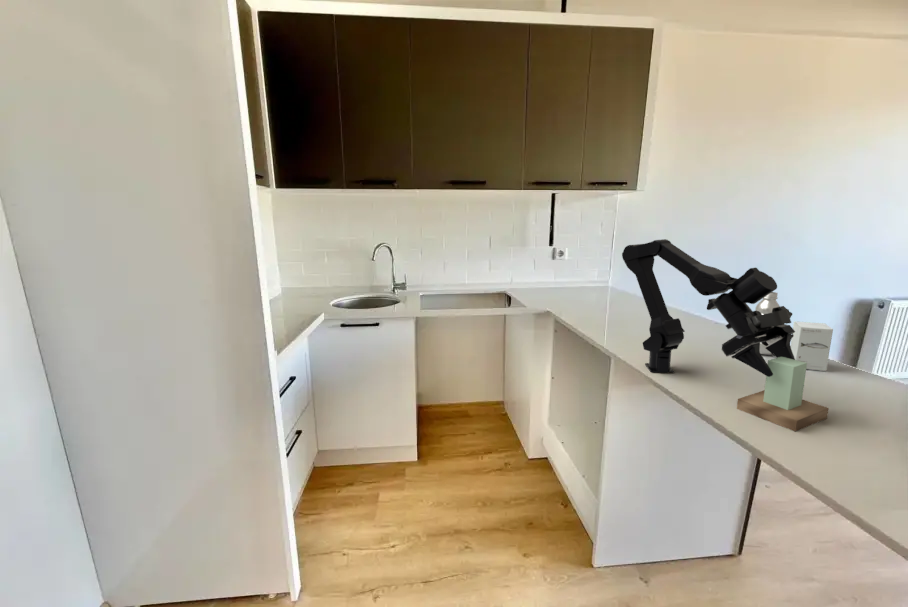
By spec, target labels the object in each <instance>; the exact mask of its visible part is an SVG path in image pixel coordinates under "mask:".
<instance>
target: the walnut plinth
mask: <svg viewBox="0 0 908 607" xmlns="http://www.w3.org/2000/svg"><path fill="white" fill-rule="evenodd" d="M764 391H765V389H764V390H761V391H757V392H754V393H751V394H748V395H746V396H743V397H738V398H737V405H736V409H737V410H739V411H742V412H744V413H747V414H749V415H752V416H754V417H757V418H760V419H763V420H764V421H767V422H770V423H772V424H776V425H777V426H780V427H783V428H785V429H788V430H791V431H793V432H797V431H801V430H803V429H805V428H807V427H810V426H812V425H815V424H817V423H820V422H821V421H825V420H827V419H828V417H829V407H827V406H824V405H822V404H818V403H814V402H812V401H809V400H805V399H803V398H802V403H801V405H800V406H798V407H795V408H792V409H790V410H786V409H783V408H780V407H778V406H775V405H772V404H769V403H766V402H763V400H764Z"/></svg>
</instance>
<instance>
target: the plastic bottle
mask: <svg viewBox="0 0 908 607" xmlns="http://www.w3.org/2000/svg"><path fill="white" fill-rule="evenodd" d="M778 298H779V297H778V292H776V291H773V292H771V293H770V294H768V295H767V296H765V297H764V298H762V299H761V300H760V301H758V302H757V304H756V306H755V310H754V311H759V312H760V313H761V314H762V315H763V314H767V313H772V309H773V308H776V307H781V305H780V304H779V303H778V301H777V300H778ZM773 327H774V326H773ZM766 347H768V346H765V345H763V344H762V343H760V354H761V355H768V356H769V355H770V356H771V355H773V354H772V353H771V352H769V351H768V350H767V349H766Z"/></svg>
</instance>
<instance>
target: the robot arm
mask: <svg viewBox="0 0 908 607" xmlns="http://www.w3.org/2000/svg"><path fill="white" fill-rule="evenodd" d="M655 257H659V258H661V259H662V260H663V261H665V262H666V263H668V265H670V266H672V267H673V268H675V269H676V270H677V271H679V272H680V273H682V274H683V275H685V277H686V278H688V281H689V282H690V285H691V286H692V287H693V288H694V289H695V290H696V291H697V293H699V294H700V295H702V296H713V295H718V296H716V297H715V298H714V297H713V298H709V299H708V300H707V301H708V302H707V305H706V310H707V311H712V310H715V309H717V310H718V312H719V313H720V314H721V316H722V317H723V318H724V320H725V321H726V322H727V324H726V325H725V328H726V329H727V330H731V329H732V330H733V331H734V332H735V334H736V335H734V336H733V337H731V338H730V339H729V340H727V341H725V342H724V343H722V344H721V351H722V352H723V353H724V355H725V356H726V357H731V358H732V359H736V360H737V361H738V362H742V363H743V364H746V365H747V366H749V367H750V368H753V369H754V370H756V371H758V372H759V373H761V374H762V375H764V376H765V377H766V376H768V377H770V376H772V375H773V373H772V371H771V369H770V368H769V366H768V362H767V361H766V360H765V359H764V357H763V354H760V343H762V344H763V345H765V346H768V347H766V349H767V350H768V351H769V352H771V353H772V355H773V356H774V357H775V358H778V357H785V358H789V359H793V360H795V358H794V355H793V353H792V350H791V339H792V337H793V336H794V335H793V333H795V331H794V330H793V326H791V325H790V324H792V320H791V318H792V317H793V312H791V311H790V309H788V308H787V307H785V306H784V305H780V307H776V308H773V309H772V313H767V314H763V315H762V314H761V313H760V312H759V311H755V310H752V308H751V307H750V306H749V305H748V304H751V305H754V304H756V303H759V302H760V301H762V300H763V298H764V297H765V296H767V295H768V294H770V293H771V292H775V290H777V289H778V284H777V282H776V280H775V279H774V277H772V276H770V275H769V274H767V273H765V272H764V271H761V270H759V268H758V267H750V268H748V270H746V271H745V272H744V273H743V274H742V275H741V276H740V277H738V278H737V277H732V276H731V275H730V274H729V273H728V272H726V271H723V270H721V269H720V268H719V269H718V268H716V267H713V266H710V265H705V264H703V263H701V262H700V261H698V260H697V259H696V258H694V257H692V256H690V255H689V254H688V253H686V252H685V251H684V250H682V249H680V248H679V247H677V246H676V245H674V244H673V243H672V242H671V241H670V240H668V239H655V240H653V241H649V242H646V243H637V244H628V245H626V246H625V247H624V248H623V251H622V253H621V258H622V260H623V261H624V264H625V265H626V267H627V268H628V269H629V270H630V272H632V273H633V274H634V275H635V277H636V281H637V283H638V286H639V289H640V291H641V292H640V293H641V294H642V298H643V301H644V303H645V306H646V309H647V312H648V314H649V317H650V323H649V334H650V336H649V337H648V338H646V339H645V340H644V341H643V342H642V346H643V350H645V351H648V352H649V357H648V358H649V359H648V363H647V362H646V363H644V365H645V367H646V368H647V369H648V371H649V372H650V373H665V372H674V373H675V370H674V369H673V368H672V367H671V360H672V351H674V350H677V349H678V348H679V345H680V344H681V343H683V341H684V339H685V335H684V332H686V331H685V329H684V328H683V326H682V322H681V320H680V318H673V316H671V315H670V312H669V311H668V308H667V305H666V303H665V299H664V297H663V295H662V292H661V289H660V287H659V284H658V281H657V278H656V276H655V273H654V270H653V269H654V264H655ZM728 291H729V292H728ZM719 294H720V295H719ZM773 326H774V327H773Z"/></svg>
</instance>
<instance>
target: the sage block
mask: <svg viewBox="0 0 908 607" xmlns="http://www.w3.org/2000/svg"><path fill="white" fill-rule="evenodd" d="M767 364H768V366H769V368H770V369H771V371H772V373H773V375H772V376H770V377H768V376H766V375H765V384H764V390H765V391H764V400H763V402H766V403H769V404H772V405H775V406H778V407H780V408H783V409H786V410H790V409H792V408H795V407H798V406H800V405H801V403H802V399H803V395H804V394H803V393H804V388H805V380H806V373H807V369H806V367H807V363H805V362H801V361H797V360H793V359H789V358H785V357H778V358H777V357H775V358H771V359H768V360H767Z"/></svg>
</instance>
